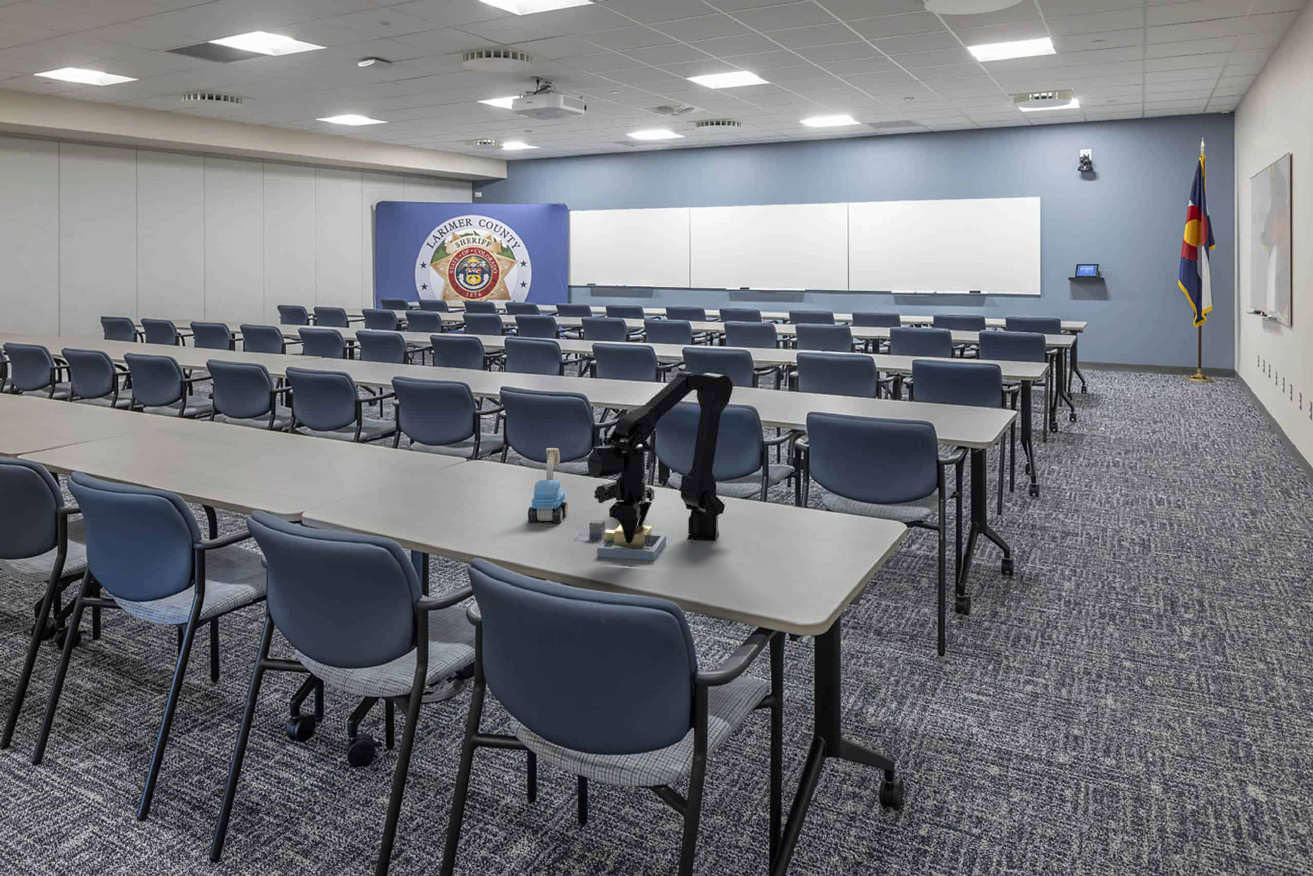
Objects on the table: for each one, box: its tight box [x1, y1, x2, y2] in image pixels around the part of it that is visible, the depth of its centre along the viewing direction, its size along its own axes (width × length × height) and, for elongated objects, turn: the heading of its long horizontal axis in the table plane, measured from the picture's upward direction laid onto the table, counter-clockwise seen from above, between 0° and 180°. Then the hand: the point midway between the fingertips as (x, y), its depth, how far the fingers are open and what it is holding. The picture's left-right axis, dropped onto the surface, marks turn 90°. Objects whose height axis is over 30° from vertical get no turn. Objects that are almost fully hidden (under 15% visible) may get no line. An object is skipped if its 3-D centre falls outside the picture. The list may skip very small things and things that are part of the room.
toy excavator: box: [527, 447, 568, 524], centre depth 241 cm, size 9×17×17 cm, turn 174°
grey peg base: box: [573, 519, 606, 543], centre depth 224 cm, size 9×9×4 cm
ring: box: [604, 524, 653, 550], centre depth 213 cm, size 10×7×4 cm
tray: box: [596, 533, 667, 562], centre depth 213 cm, size 13×13×2 cm
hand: (632, 538), depth 213 cm, fingers closed on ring, 7 cm apart
